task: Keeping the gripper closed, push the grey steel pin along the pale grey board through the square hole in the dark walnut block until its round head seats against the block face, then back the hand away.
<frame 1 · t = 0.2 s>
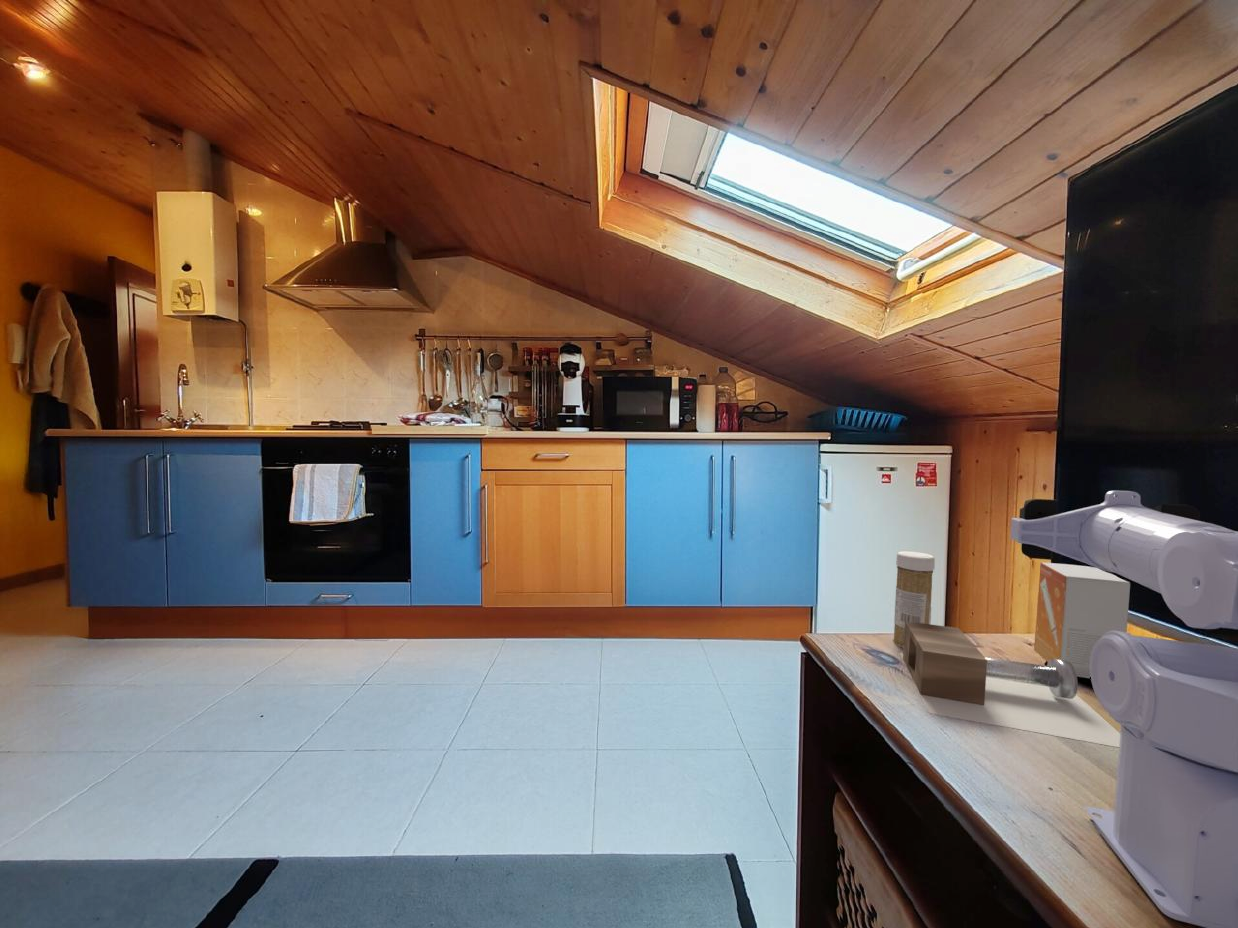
hand: (1069, 520, 51), 21 cm above the tv stand, tool horizontal, fingers open, 7 cm apart
sprinkles bottle: (910, 649, 70), on the tv stand
small box: (1074, 671, 65), on the tv stand
board: (997, 697, 57), on the tv stand
block: (939, 679, 60), resting on board
pin: (1002, 669, 58), point 3 cm above the tv stand, slide at 0.0 cm
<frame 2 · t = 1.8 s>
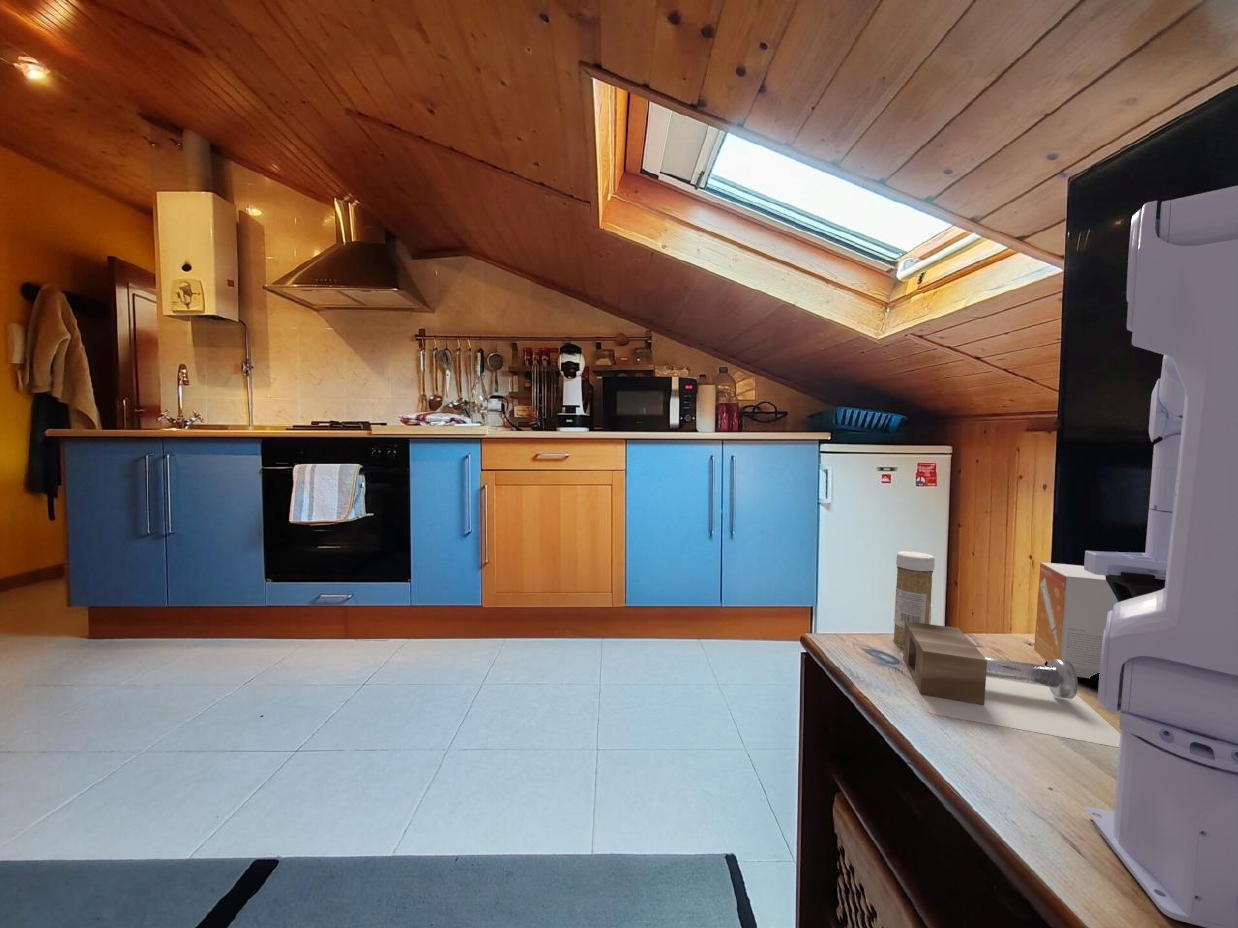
hand: (1181, 659, 46), 9 cm above the tv stand, tool pointing down, fingers open, 5 cm apart
nothing on the tv stand moved.
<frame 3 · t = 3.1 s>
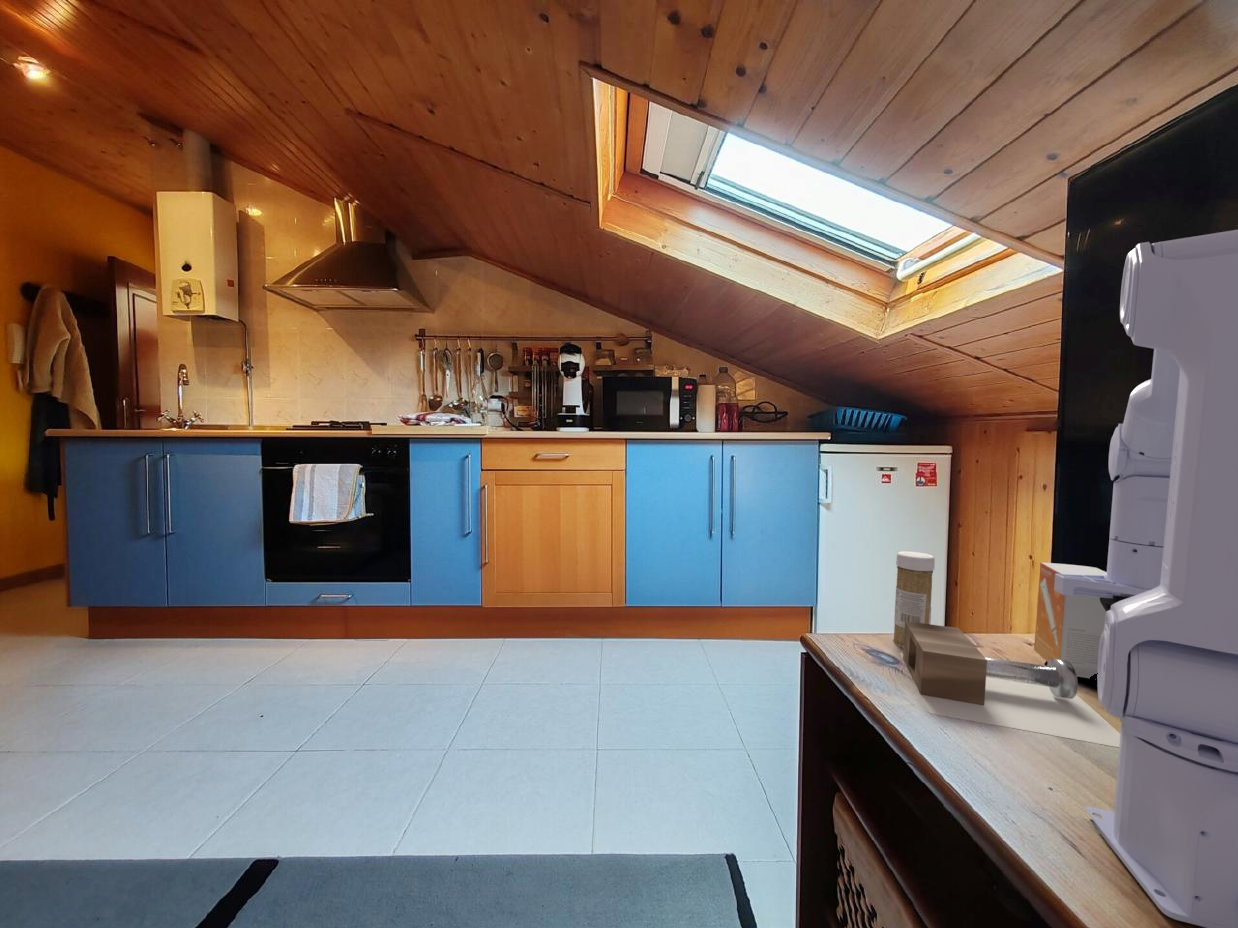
hand: (1136, 668, 54), 5 cm above the tv stand, tool pointing down, fingers closed
nothing on the tv stand moved.
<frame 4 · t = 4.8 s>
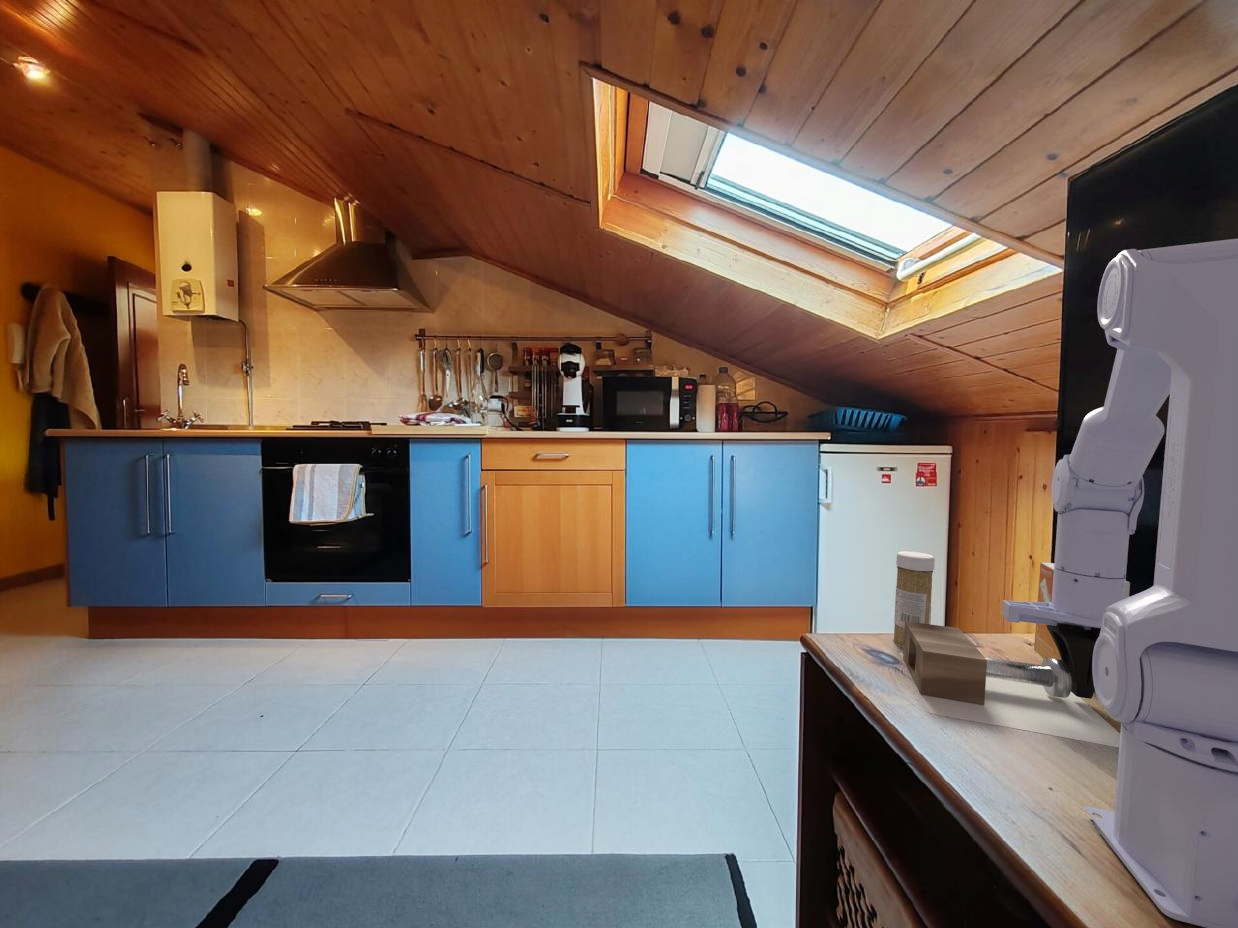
hand: (1079, 693, 55), 2 cm above the tv stand, tool pointing down, fingers closed
pin: (996, 668, 58), point 3 cm above the tv stand, slide at 0.5 cm, touching gripper
everything else where it was.
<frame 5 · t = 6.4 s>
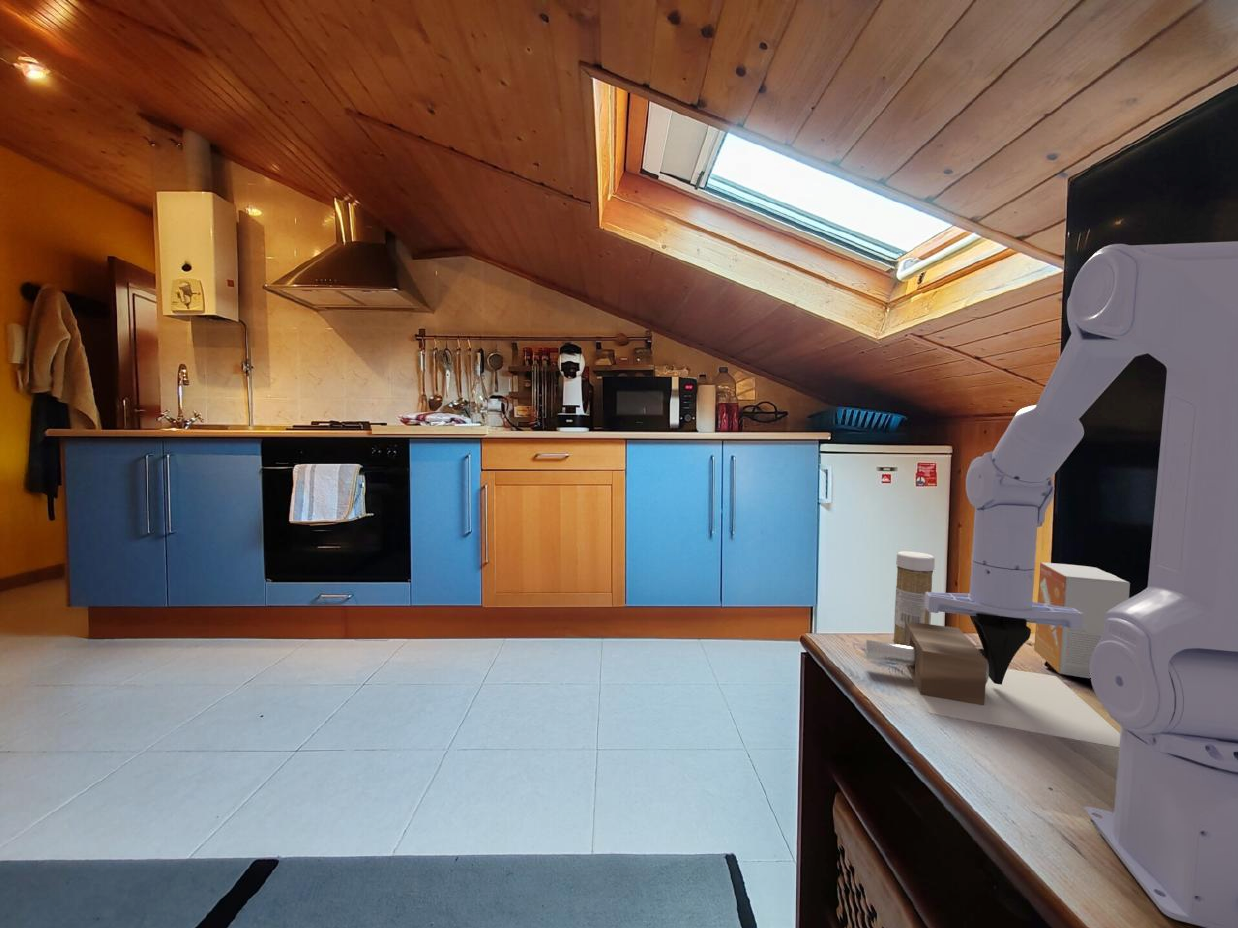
hand: (994, 680, 58), 2 cm above the tv stand, tool pointing down, fingers closed
pin: (922, 657, 60), point 3 cm above the tv stand, slide at 8.0 cm, touching block, gripper
everything else where it was.
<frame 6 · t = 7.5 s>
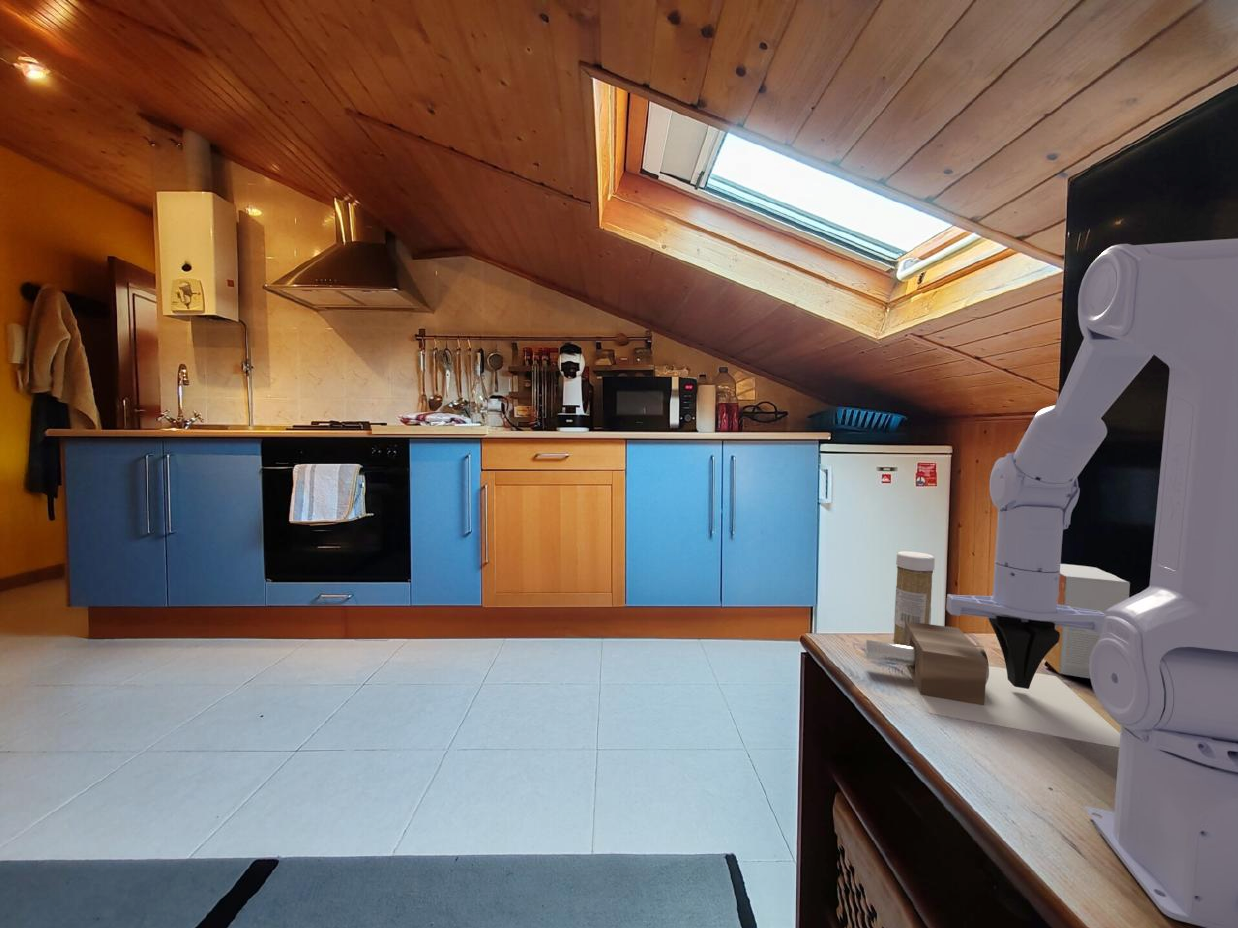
hand: (1018, 683, 57), 2 cm above the tv stand, tool pointing down, fingers closed
pin: (922, 657, 60), point 3 cm above the tv stand, slide at 8.0 cm, touching block
everything else where it was.
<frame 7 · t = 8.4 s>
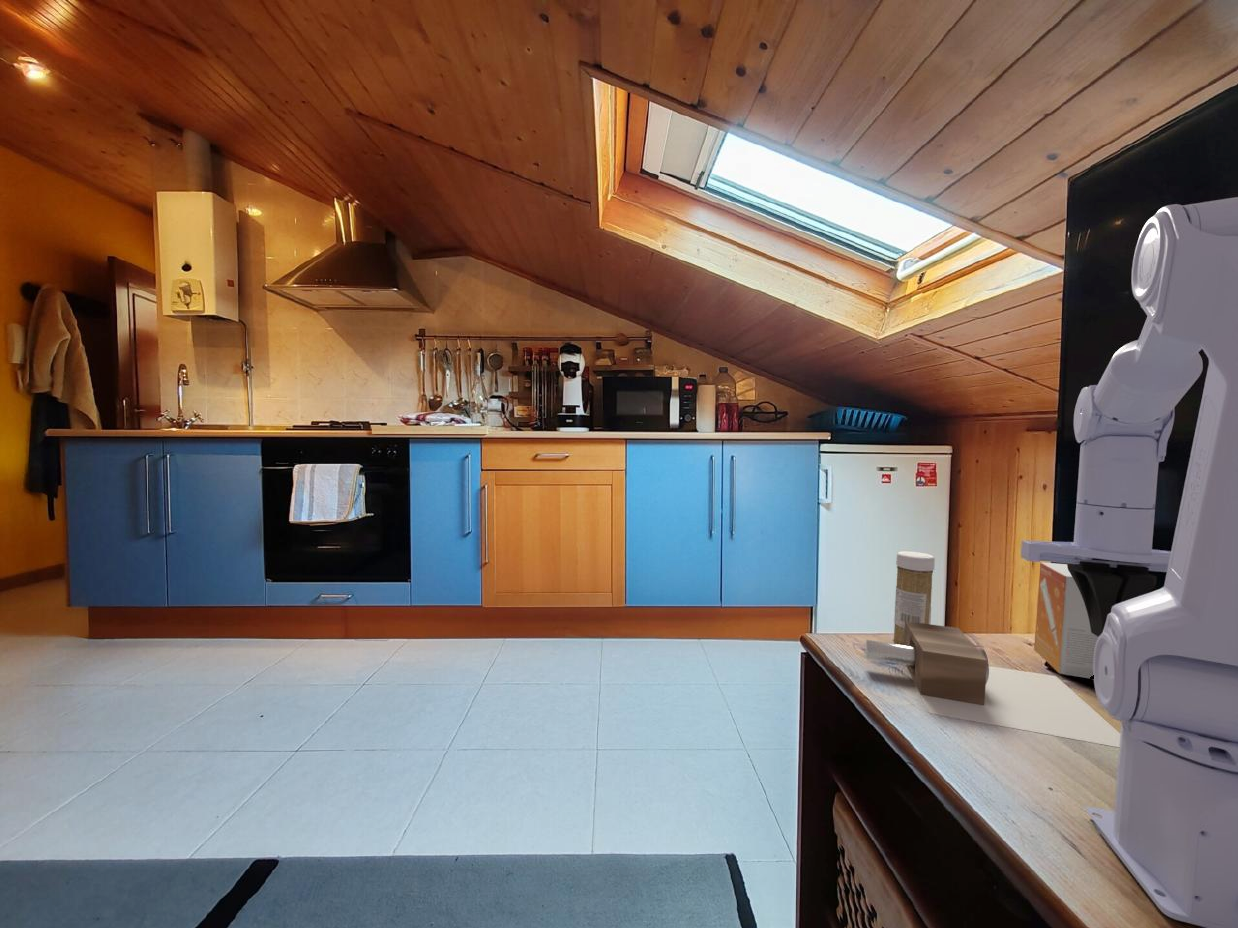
hand: (1104, 636, 52), 9 cm above the tv stand, tool pointing down, fingers closed
nothing on the tv stand moved.
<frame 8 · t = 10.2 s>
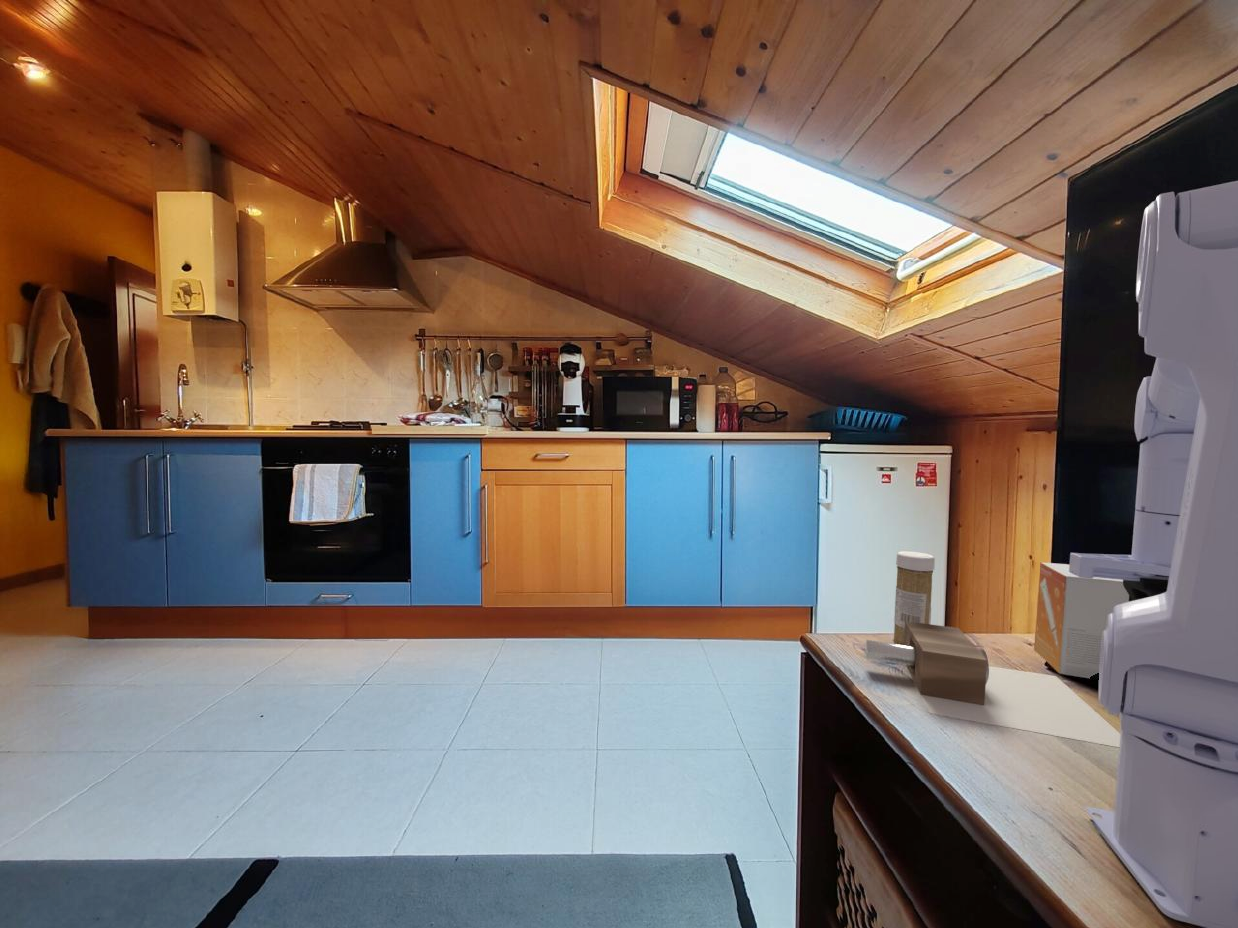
hand: (1168, 664, 45), 9 cm above the tv stand, tool pointing down, fingers closed
nothing on the tv stand moved.
at the end: pin slide at 8.0 cm; pin 0.2 cm from the target spot, point 3.0 cm above the tv stand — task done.
